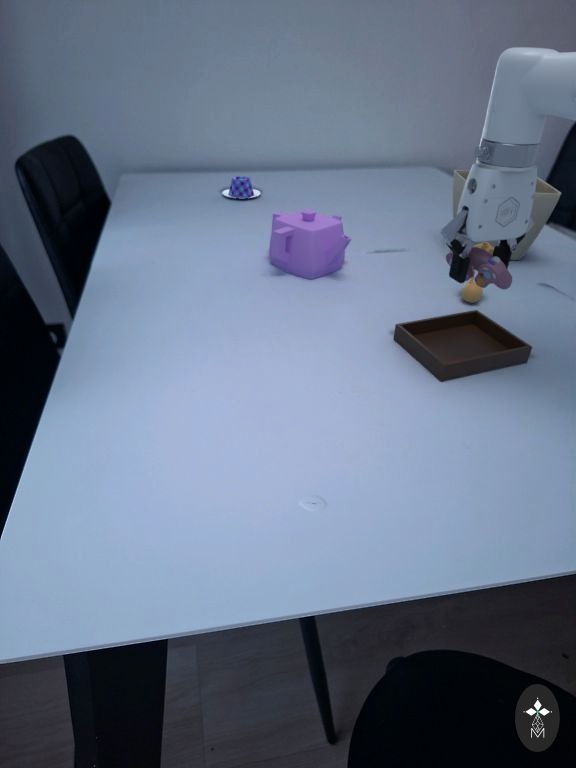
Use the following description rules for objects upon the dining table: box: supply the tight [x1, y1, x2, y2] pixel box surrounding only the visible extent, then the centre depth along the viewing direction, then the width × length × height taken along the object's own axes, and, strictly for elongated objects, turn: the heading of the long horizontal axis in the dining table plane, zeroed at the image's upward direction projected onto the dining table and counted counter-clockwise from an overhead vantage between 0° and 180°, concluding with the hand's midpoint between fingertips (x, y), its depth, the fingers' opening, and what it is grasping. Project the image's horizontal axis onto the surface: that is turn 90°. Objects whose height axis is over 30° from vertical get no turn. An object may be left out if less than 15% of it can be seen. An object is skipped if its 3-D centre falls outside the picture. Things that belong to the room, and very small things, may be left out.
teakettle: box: [268, 208, 352, 280], centre depth 117 cm, size 17×17×12 cm
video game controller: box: [445, 245, 513, 290], centre depth 82 cm, size 10×5×7 cm, turn 39°
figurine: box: [461, 242, 494, 304], centre depth 104 cm, size 8×6×12 cm
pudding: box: [221, 175, 261, 200], centre depth 166 cm, size 12×12×5 cm
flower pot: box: [452, 169, 562, 261], centre depth 127 cm, size 19×19×17 cm
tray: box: [393, 309, 533, 382], centre depth 90 cm, size 17×14×3 cm
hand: (477, 275), depth 82 cm, fingers closed on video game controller, 7 cm apart
